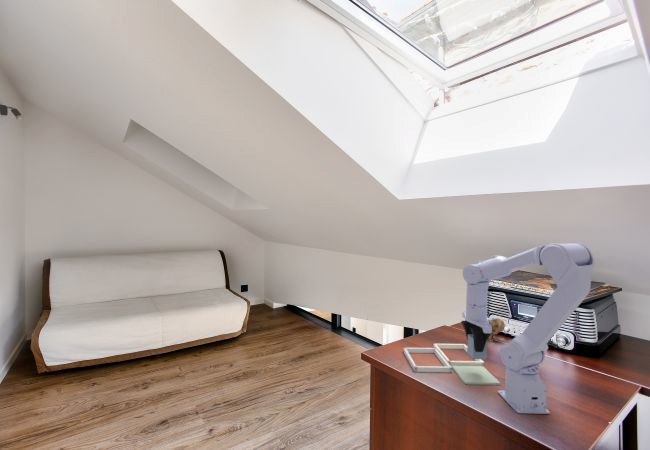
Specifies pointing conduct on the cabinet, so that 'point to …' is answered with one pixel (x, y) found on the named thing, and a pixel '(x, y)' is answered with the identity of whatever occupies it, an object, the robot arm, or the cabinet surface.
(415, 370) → the grey rectangular frame
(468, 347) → the slate block
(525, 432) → the cabinet surface
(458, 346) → the cream rectangular frame
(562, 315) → the robot arm
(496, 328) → the lion figurine
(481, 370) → the green mat
